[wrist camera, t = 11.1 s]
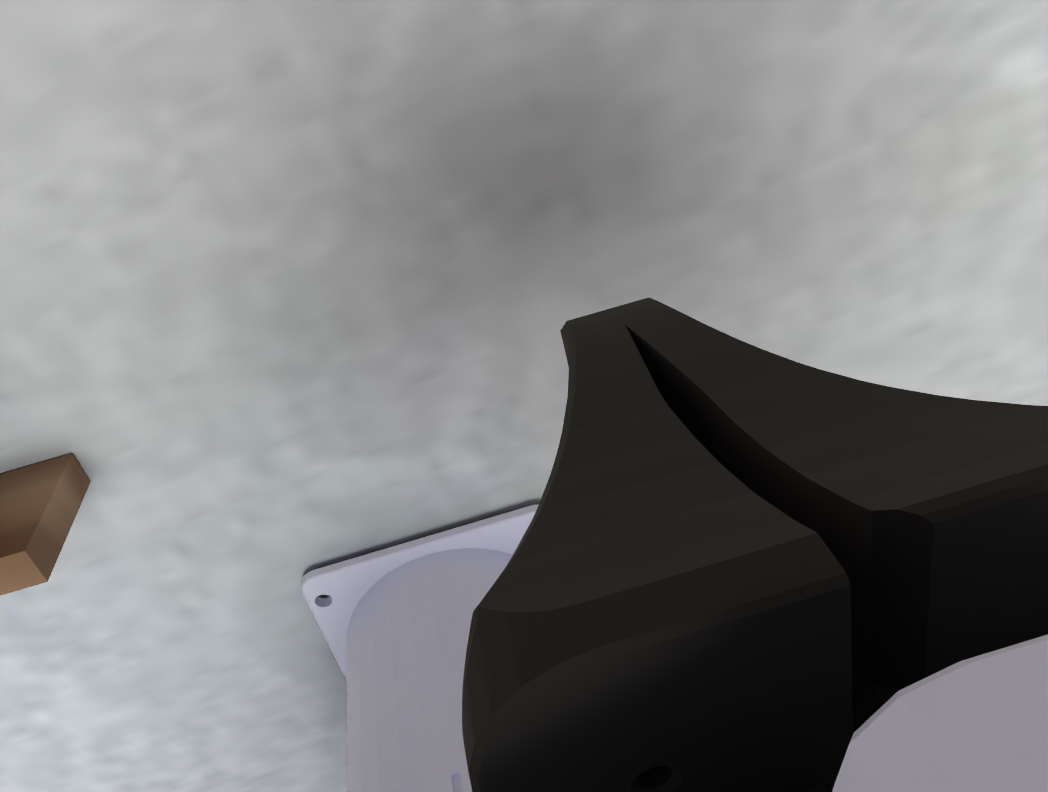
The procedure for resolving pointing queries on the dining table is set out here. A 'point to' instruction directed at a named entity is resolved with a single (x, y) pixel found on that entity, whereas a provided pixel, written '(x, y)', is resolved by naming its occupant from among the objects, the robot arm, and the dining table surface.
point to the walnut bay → (37, 518)
